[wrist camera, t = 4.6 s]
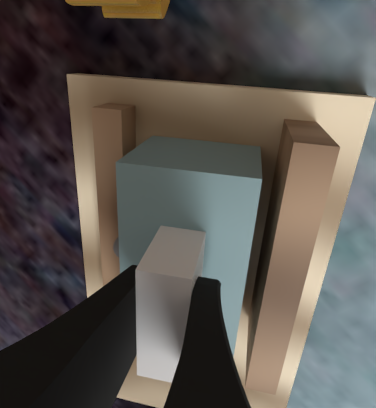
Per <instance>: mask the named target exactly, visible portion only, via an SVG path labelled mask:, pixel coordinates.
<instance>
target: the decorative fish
mask: <svg viewBox="0 0 376 408" xmlns="http://www.w3.org/2000/svg"><path fill="white" fill-rule="evenodd" d="M65 1H66V2H67V3H68V4H70V5H73V6H102V13H103V16H104V18H145V19H163V18H164V17H165V14H166V11H167V9H168V5H169V2H170V0H65Z"/></svg>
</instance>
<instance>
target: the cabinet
mask: <svg viewBox="0 0 376 408" xmlns="http://www.w3.org/2000/svg"><path fill="white" fill-rule="evenodd" d="M261 185H262V164H261V147H260V146H251V145H241V144H231V143H222V142H212V141H202V140H192V139H182V138H172V137H162V136H151V137H150V138H149V139H147V140H146V141H144V142H143V143H142V144H140V145H139V146H137V147H136V148H135V149H133V150H132V151H130V152H129V153H128V154H126V155H125V156H124V157H122V158H121V159H119V160H118V161H117V162H116V187H117V212H118V238H117V239H116V240H115V242H114V245H113V250H114V253H115V254H116V256H117V257H119V262H120V273H121V272H123V271H124V270H126V269H127V268H128V267H130V266H131V265H137V268H136V270H135V279H136V345H137V375H138V376H143V377H148V378H152V379H157V380H161V381H166V382H171V383H172V380H173V377H174V374H175V371H176V368H177V365H178V362H179V359H180V355H181V350H182V346H183V341H184V336H185V330H186V324H187V319H188V313H189V307H190V301H191V296H192V290H193V288H194V285H195V283H196V280H197V278H198V276H200V277H206V278H212V279H217V280H219V281H220V283H221V305H222V312H223V318H224V323H225V327H226V331H227V336H228V340H229V344H230V348H231V351H232V354H233V357H234V351H235V345H236V339H237V332H238V326H239V320H240V314H241V308H242V302H243V295H244V289H245V283H246V277H247V271H248V265H249V259H250V252H251V246H252V240H253V234H254V228H255V222H256V216H257V209H258V203H259V197H260V191H261Z"/></svg>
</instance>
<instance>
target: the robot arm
mask: <svg viewBox="0 0 376 408" xmlns="http://www.w3.org/2000/svg"><path fill="white" fill-rule="evenodd" d="M136 268H137V265H131V266H130V267H128V268H127V269H126V270H124V271H123V272H121V273H120V274H119V275H118V276H116V277H115V278H114V279H112V280H111V281H110V282H108V283H107V284H106V285H104V286H103V287H102V288H100V289H99V290H98V291H96V292H95V293H94V294H92V295H91V296H89V297H88V298H87V299H85V300H84V301H82V302H81V303H80V304H78V305H77V306H75V307H74V308H72V309H71V310H69V311H68V312H66V313H65V314H63V315H62V316H60V317H59V318H57V319H56V320H54V321H53V322H51V323H49V324H48V325H46V326H44V327H43V328H41V329H39V330H38V331H36V332H34V333H32V334H31V335H29V336H27V337H25V338H23V339H22V340H20V341H18V342H16V343H14V344H12V345H11V346H9V347H7V348H5V349H3V350H1V351H0V408H112V405H113V403H114V401H115V399H116V397H117V395H118V393H119V391H120V389H121V387H122V384H123V382H124V380H125V378H126V376H127V374H128V372H129V370H130V368H131V366H132V363H133V361H134V359H135V357H136V355H137V345H136V279H135V270H136ZM164 408H251V406H250V404H249V401H248V398H247V396H246V393H245V390H244V388H243V385H242V382H241V379H240V377H239V374H238V371H237V368H236V364H235V361H234V358H233V354H232V351H231V348H230V344H229V340H228V336H227V331H226V327H225V323H224V318H223V312H222V305H221V283H220V281H219V280H217V279H212V278H206V277H200V276H198V278H197V280H196V283H195V285H194V288H193V290H192V296H191V301H190V307H189V313H188V319H187V324H186V330H185V336H184V341H183V346H182V350H181V355H180V359H179V362H178V365H177V368H176V371H175V374H174V377H173V380H172V384H171V387H170V390H169V393H168V396H167V399H166V402H165V405H164Z"/></svg>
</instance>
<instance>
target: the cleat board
mask: <svg viewBox="0 0 376 408" xmlns="http://www.w3.org/2000/svg"><path fill="white" fill-rule="evenodd" d="M67 84H68V95H69V106H70V116H71V127H72V138H73V149H74V159H75V170H76V181H77V192H78V203H79V213H80V224H81V235H82V246H83V256H84V267H85V278H86V289H87V298H88V297H89V296H91V295H92V294H94V293H95V292H96V291H98V290H99V289H100V288H102V287H103V286H104V285H106V284H107V283H108V282H110V281H111V280H112V279H114V278H115V277H116V276H118V275H119V274H120V262H119V257H117V256H116V254H115V253H114V250H113V245H114V242H115V240H116V239H117V238H118V212H117V187H116V162H117V161H118V160H119V159H121V158H122V157H124V156H125V155H126V154H128V153H129V152H130V151H132V150H133V149H135V148H136V147H137V146H139V145H140V144H142V143H143V142H144V141H146V140H147V139H149V138H150V137H151V136H162V137H172V138H182V139H192V140H202V141H212V142H222V143H231V144H241V145H251V146H260V147H261V164H262V185H261V191H260V197H259V203H258V209H257V216H256V222H255V228H254V234H253V240H252V246H251V252H250V259H249V265H248V271H247V277H246V283H245V289H244V295H243V302H242V308H241V314H240V320H239V326H238V332H237V339H236V345H235V351H234V357H233V358H234V361H235V364H236V368H237V371H238V374H239V377H240V379H241V382H242V385H243V388H244V390H245V393H246V396H247V398H248V401H249V404H250V406H251V408H286V407H287V403H288V400H289V396H290V393H291V389H292V386H293V382H294V379H295V376H296V372H297V369H298V365H299V362H300V358H301V355H302V351H303V348H304V345H305V341H306V338H307V334H308V331H309V327H310V324H311V320H312V317H313V313H314V310H315V307H316V303H317V300H318V296H319V293H320V289H321V286H322V282H323V279H324V276H325V272H326V269H327V265H328V262H329V258H330V255H331V251H332V248H333V244H334V241H335V238H336V234H337V231H338V227H339V224H340V220H341V217H342V213H343V210H344V207H345V203H346V200H347V196H348V193H349V189H350V186H351V182H352V179H353V176H354V172H355V169H356V165H357V162H358V158H359V155H360V151H361V148H362V144H363V141H364V138H365V134H366V131H367V127H368V124H369V120H370V117H371V113H372V110H373V107H374V103H375V100H376V98H374V97H371V96H368V95H355V94H342V93H329V92H316V91H303V90H290V89H277V88H264V87H251V86H238V85H225V84H212V83H199V82H186V81H173V80H160V79H147V78H134V77H121V76H108V75H95V74H82V73H75V74H67ZM171 384H172V383H171V382H166V381H161V380H157V379H152V378H148V377H143V376H138V375H137V355H136V357H135V359H134V361H133V363H132V366H131V368H130V370H129V372H128V374H127V376H126V378H125V380H124V382H123V384H122V387H121V389H120V391H119V393H118V395H117V398H121V399H125V400H129V401H133V402H137V403H141V404H145V405H149V406H153V407H157V408H164V405H165V402H166V399H167V396H168V393H169V390H170V387H171Z"/></svg>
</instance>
